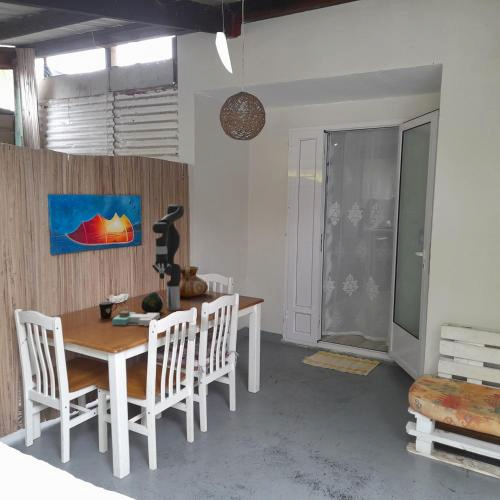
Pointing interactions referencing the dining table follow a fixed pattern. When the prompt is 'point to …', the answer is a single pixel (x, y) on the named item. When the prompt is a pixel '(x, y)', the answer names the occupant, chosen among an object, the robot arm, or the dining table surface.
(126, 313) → the walnut block
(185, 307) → the dining table surface
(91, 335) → the dining table surface
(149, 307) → the squash
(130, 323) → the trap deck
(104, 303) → the coffee mug
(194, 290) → the jug
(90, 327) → the dining table surface
